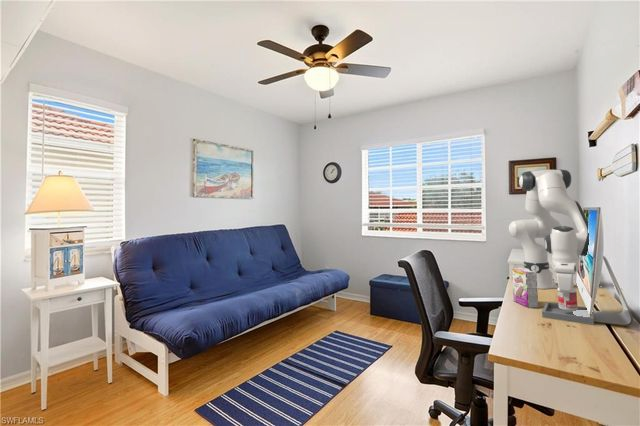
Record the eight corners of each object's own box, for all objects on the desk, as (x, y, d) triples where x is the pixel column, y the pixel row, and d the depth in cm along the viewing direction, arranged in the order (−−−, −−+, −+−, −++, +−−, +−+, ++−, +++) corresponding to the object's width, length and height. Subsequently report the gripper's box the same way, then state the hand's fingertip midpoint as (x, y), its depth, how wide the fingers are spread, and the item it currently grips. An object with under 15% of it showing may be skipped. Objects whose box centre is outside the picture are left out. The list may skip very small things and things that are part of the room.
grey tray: (546, 307, 138) (546, 302, 138) (593, 313, 127) (593, 307, 127) (542, 317, 126) (542, 311, 126) (594, 325, 116) (593, 318, 116)
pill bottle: (579, 309, 126) (578, 282, 126) (574, 312, 123) (572, 285, 123) (561, 305, 131) (560, 280, 131) (556, 308, 128) (554, 282, 128)
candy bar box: (512, 301, 149) (511, 268, 149) (523, 301, 149) (521, 267, 149) (528, 308, 138) (526, 272, 138) (539, 307, 138) (537, 271, 138)
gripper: (557, 261, 137) (559, 291, 137) (553, 268, 122) (555, 302, 122) (576, 262, 133) (577, 293, 133) (574, 269, 117) (576, 305, 117)
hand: (567, 298), depth 127 cm, fingers closed on pill bottle, 6 cm apart
